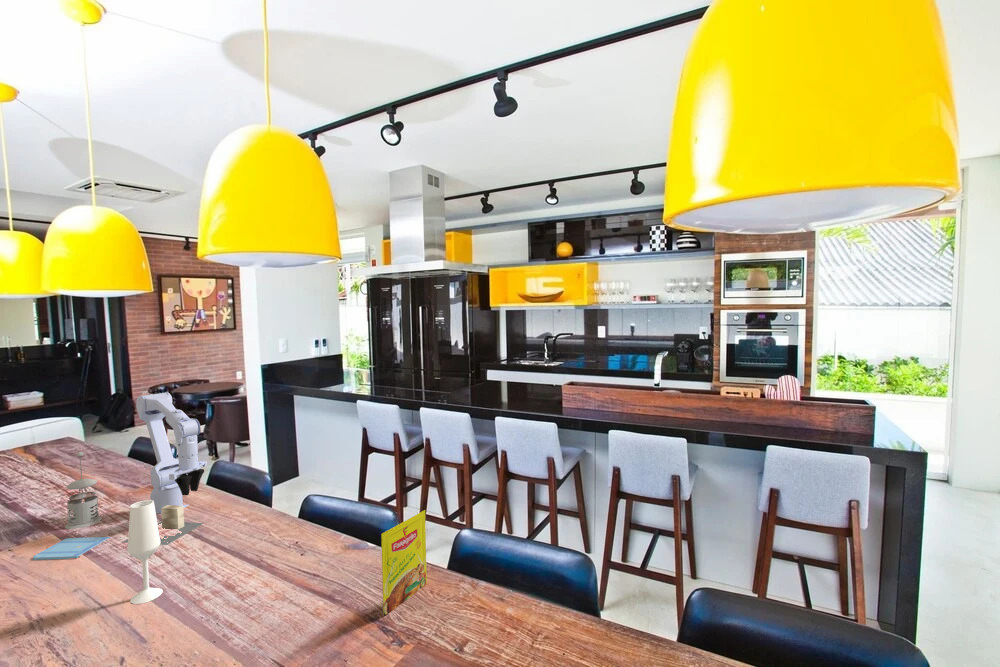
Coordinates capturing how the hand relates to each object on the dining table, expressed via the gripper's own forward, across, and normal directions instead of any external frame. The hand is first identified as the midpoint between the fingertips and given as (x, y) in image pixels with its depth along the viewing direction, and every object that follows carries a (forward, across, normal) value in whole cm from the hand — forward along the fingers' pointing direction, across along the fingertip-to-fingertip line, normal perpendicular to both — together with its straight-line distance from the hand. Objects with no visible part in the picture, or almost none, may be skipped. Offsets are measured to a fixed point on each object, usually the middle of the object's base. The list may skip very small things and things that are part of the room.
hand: (189, 492), depth 163 cm
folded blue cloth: (+10, -23, +20) cm, 32 cm away
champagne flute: (+10, -42, -24) cm, 50 cm away
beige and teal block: (+9, -8, 0) cm, 12 cm away
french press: (+10, -6, +36) cm, 38 cm away
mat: (+9, -11, 0) cm, 14 cm away
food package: (+10, -36, -92) cm, 99 cm away
